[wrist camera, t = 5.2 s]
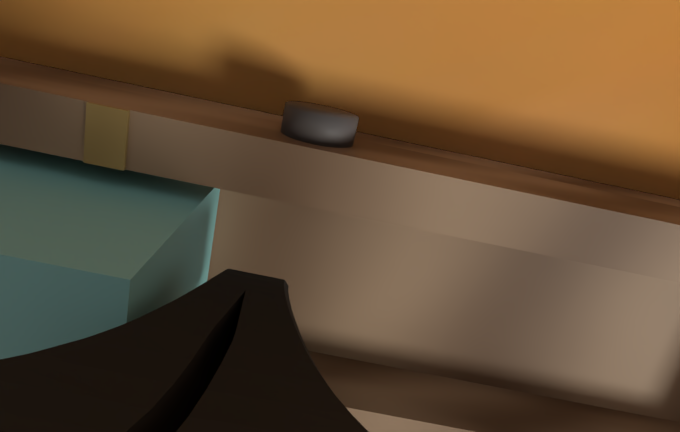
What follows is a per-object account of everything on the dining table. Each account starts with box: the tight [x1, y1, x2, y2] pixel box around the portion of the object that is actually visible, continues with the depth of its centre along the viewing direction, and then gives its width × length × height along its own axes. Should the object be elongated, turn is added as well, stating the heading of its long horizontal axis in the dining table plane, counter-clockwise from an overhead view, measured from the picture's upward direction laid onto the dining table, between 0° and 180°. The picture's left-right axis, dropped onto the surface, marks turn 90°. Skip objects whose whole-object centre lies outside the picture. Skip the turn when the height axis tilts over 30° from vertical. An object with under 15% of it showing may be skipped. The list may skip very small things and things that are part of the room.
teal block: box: [0, 144, 220, 359], centre depth 11 cm, size 5×4×6 cm
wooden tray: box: [0, 57, 680, 432], centre depth 13 cm, size 26×8×3 cm, turn 78°
